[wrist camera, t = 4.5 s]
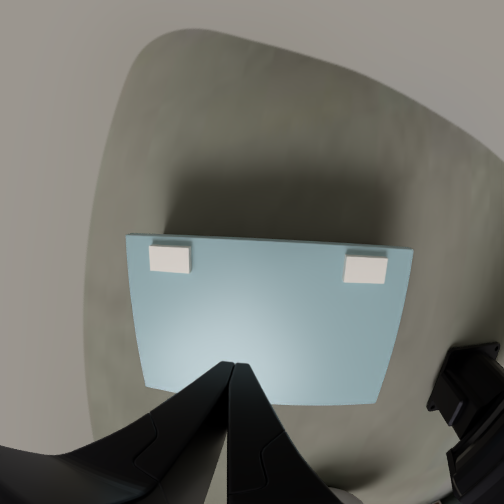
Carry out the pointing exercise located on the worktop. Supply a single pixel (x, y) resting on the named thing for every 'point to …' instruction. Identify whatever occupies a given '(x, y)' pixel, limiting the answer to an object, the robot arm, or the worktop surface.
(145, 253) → the cover
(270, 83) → the worktop surface
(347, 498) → the donut
